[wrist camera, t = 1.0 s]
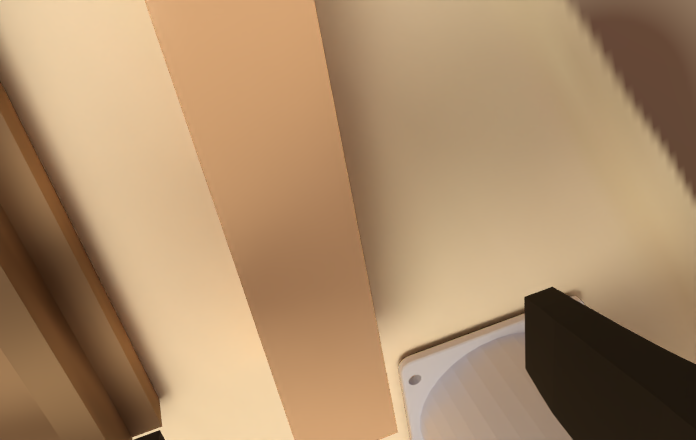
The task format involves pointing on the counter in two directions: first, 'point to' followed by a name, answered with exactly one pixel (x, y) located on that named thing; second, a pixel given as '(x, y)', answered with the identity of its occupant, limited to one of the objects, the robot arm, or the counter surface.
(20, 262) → the drying rack
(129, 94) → the counter surface
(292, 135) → the clay bar
